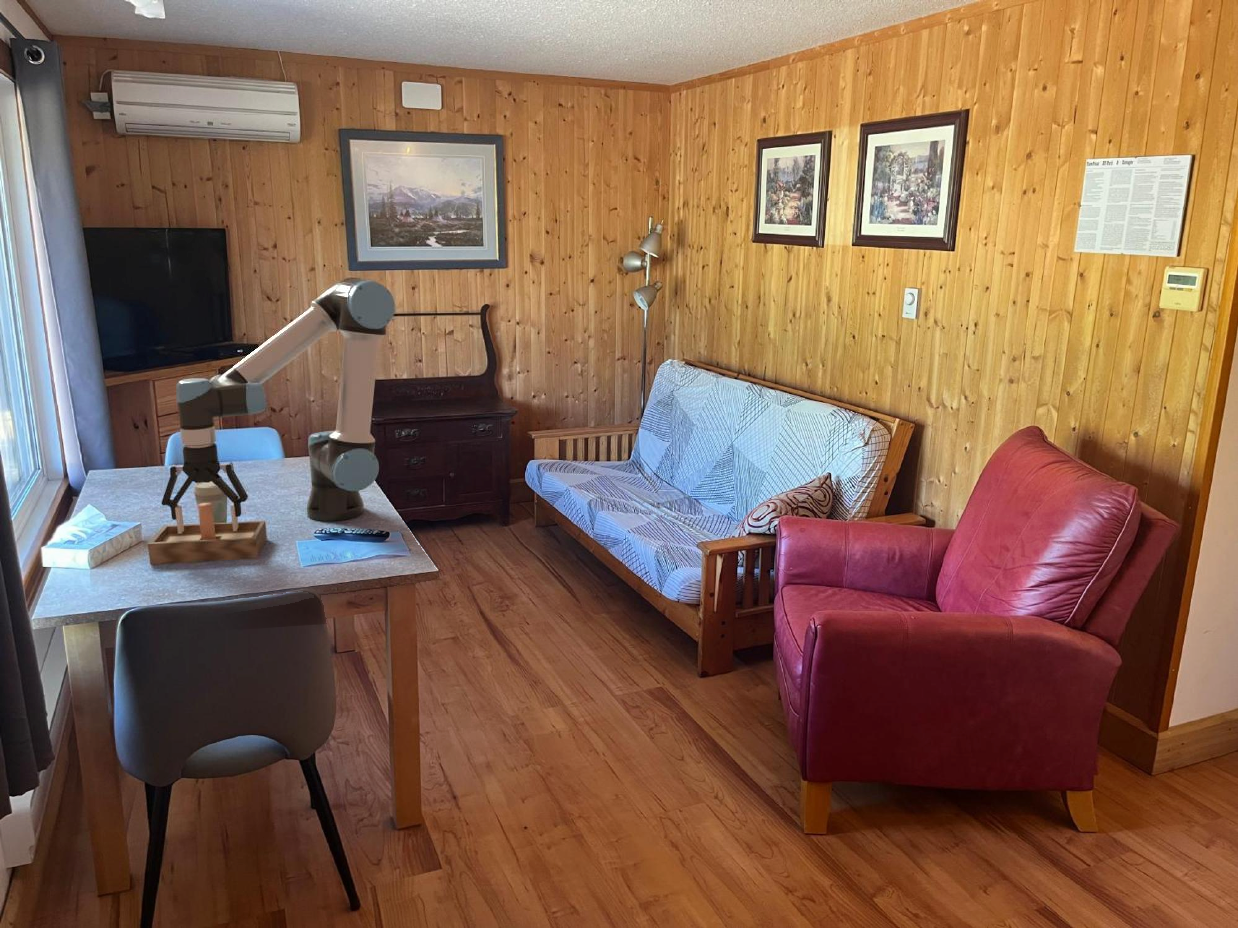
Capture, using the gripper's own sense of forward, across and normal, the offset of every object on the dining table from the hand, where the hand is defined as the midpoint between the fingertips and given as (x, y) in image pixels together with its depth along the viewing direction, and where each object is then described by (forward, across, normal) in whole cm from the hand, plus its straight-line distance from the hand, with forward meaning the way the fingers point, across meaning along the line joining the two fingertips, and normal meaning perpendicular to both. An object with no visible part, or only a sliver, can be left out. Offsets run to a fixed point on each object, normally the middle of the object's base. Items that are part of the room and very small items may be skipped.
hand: (208, 530), depth 232 cm
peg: (+5, 0, 0) cm, 5 cm away
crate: (+5, 0, 0) cm, 5 cm away
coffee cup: (+5, +3, -19) cm, 20 cm away
